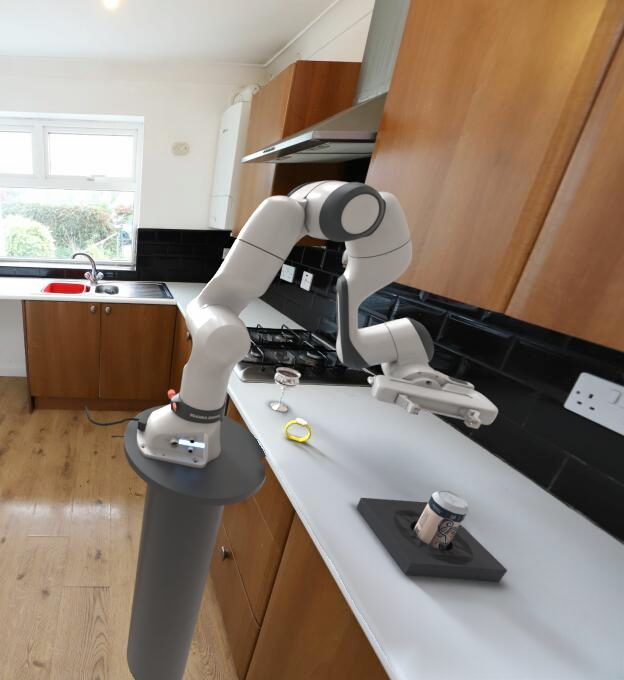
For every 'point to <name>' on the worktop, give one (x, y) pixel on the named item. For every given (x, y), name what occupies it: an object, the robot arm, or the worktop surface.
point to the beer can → (441, 519)
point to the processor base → (420, 558)
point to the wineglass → (285, 384)
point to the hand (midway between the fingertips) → (444, 417)
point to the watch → (301, 423)
